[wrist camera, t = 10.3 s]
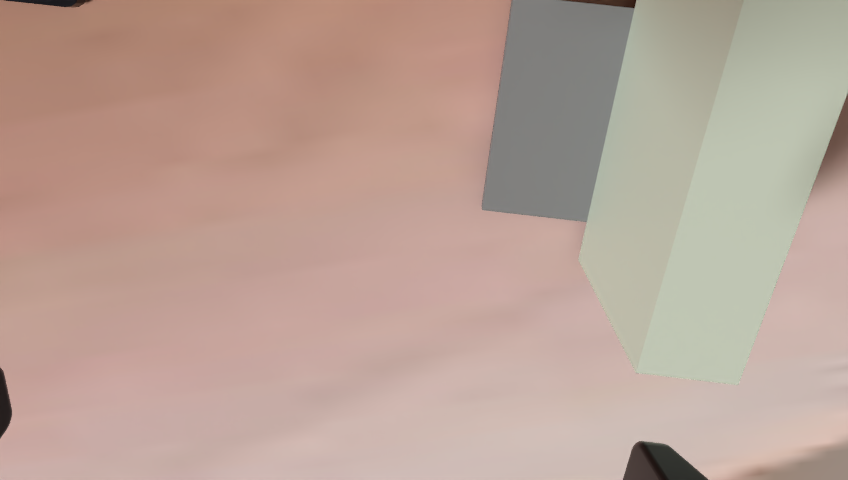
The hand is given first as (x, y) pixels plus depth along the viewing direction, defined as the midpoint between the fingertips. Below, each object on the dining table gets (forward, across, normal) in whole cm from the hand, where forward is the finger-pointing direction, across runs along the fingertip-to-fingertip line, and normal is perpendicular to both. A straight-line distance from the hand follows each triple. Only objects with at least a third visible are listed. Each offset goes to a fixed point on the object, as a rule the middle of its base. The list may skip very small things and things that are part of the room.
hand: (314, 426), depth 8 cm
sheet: (+12, -8, -3) cm, 15 cm away
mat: (+13, -8, -3) cm, 16 cm away
